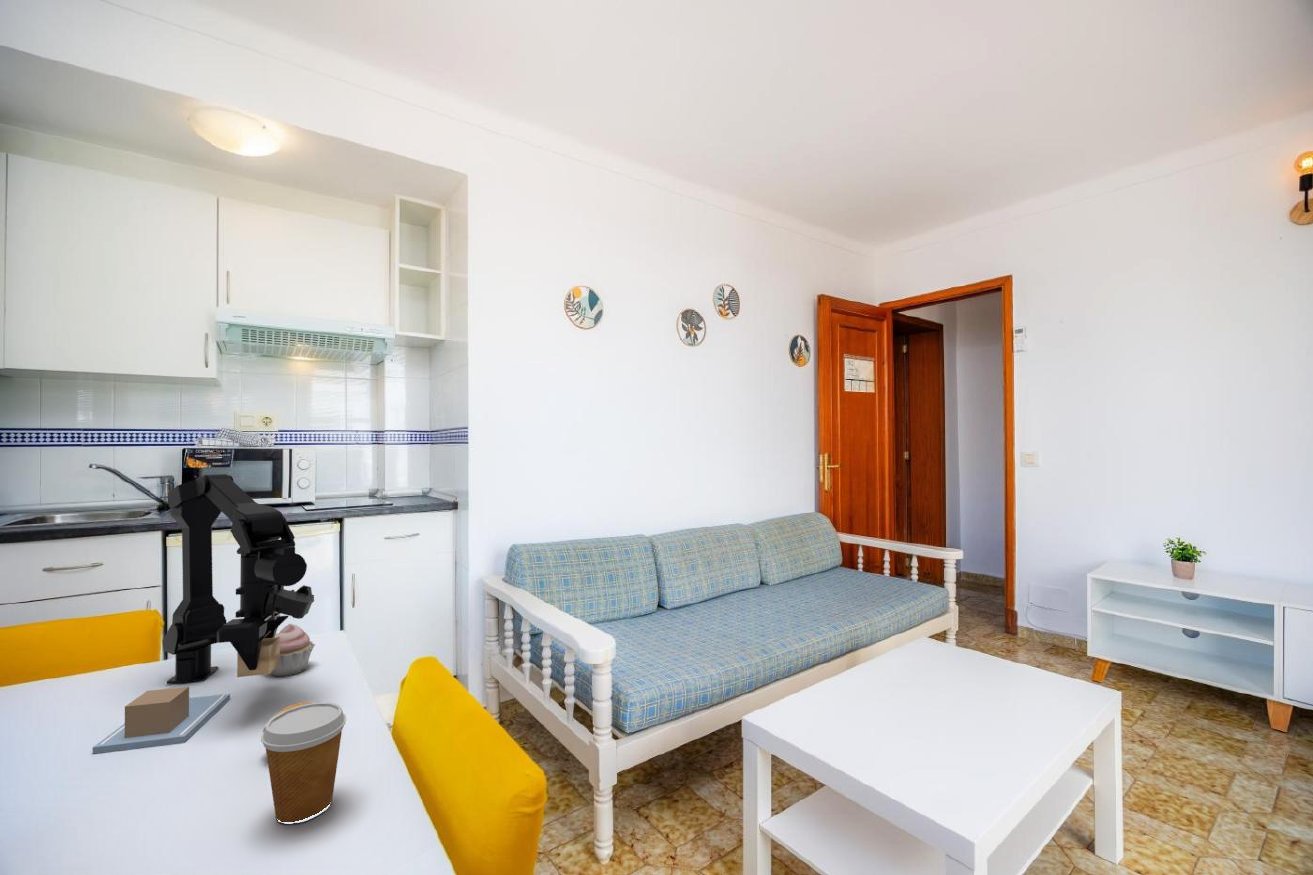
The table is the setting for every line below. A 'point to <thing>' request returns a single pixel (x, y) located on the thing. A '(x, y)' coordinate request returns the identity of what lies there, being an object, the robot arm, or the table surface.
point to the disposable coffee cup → (303, 758)
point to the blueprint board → (169, 737)
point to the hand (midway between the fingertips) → (259, 664)
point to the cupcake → (293, 650)
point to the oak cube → (262, 659)
